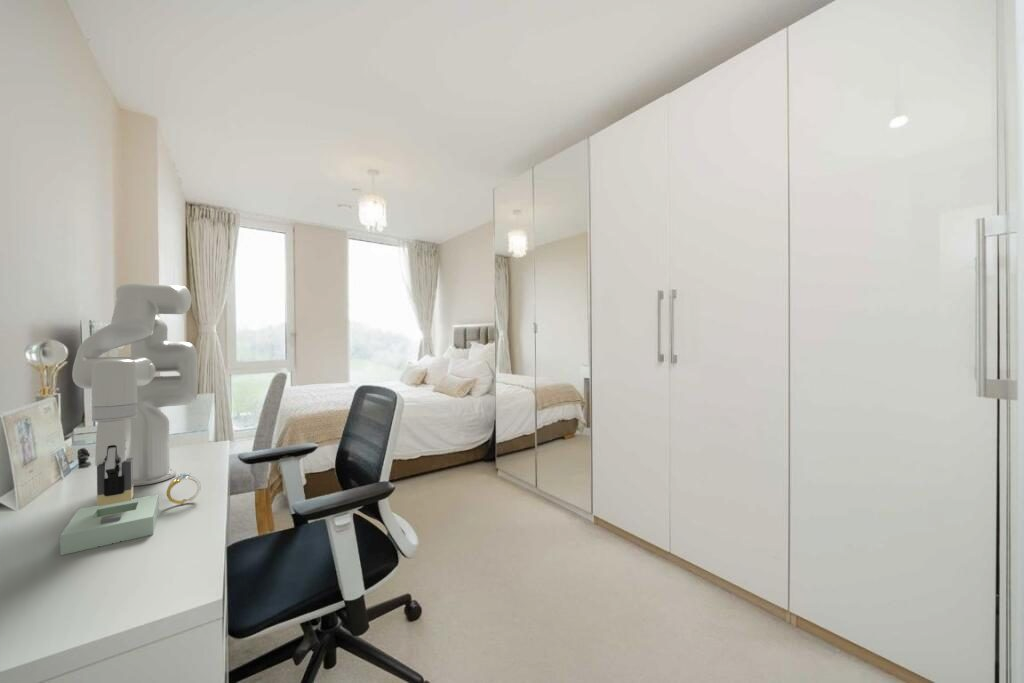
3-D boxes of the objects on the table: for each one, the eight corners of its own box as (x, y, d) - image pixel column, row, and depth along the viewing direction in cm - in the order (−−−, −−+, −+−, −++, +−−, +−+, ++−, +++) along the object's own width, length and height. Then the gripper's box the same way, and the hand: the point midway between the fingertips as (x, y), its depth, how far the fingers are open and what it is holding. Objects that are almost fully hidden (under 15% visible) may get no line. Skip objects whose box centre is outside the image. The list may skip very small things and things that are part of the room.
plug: (100, 500, 93) (100, 462, 93) (133, 495, 96) (132, 457, 96) (97, 506, 90) (96, 466, 90) (131, 500, 93) (130, 461, 93)
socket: (79, 525, 94) (78, 505, 94) (158, 509, 103) (158, 491, 102) (60, 555, 81) (60, 531, 81) (153, 534, 90) (152, 512, 90)
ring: (166, 509, 103) (165, 477, 103) (167, 504, 106) (167, 474, 106) (200, 502, 107) (200, 472, 107) (201, 498, 110) (201, 469, 110)
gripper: (99, 409, 97) (100, 485, 97) (83, 420, 84) (84, 507, 84) (141, 406, 102) (142, 478, 102) (132, 415, 89) (133, 498, 89)
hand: (116, 490), depth 93 cm, fingers closed on plug, 4 cm apart
